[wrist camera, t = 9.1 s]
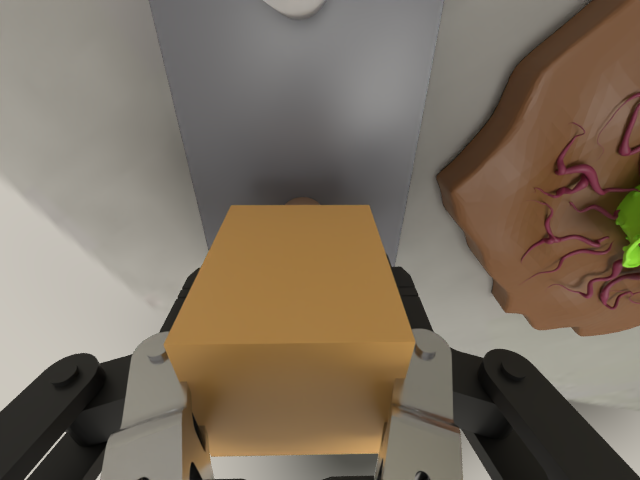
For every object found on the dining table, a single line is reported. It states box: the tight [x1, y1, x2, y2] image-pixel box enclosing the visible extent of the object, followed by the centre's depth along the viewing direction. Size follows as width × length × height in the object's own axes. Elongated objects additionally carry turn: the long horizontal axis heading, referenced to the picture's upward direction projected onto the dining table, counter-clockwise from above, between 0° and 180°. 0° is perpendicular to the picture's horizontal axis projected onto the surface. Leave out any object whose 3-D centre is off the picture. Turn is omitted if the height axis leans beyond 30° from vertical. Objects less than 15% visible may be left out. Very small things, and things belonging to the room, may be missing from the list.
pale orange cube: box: [163, 205, 416, 457], centre depth 10 cm, size 5×5×6 cm
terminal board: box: [149, 0, 444, 267], centre depth 12 cm, size 18×10×6 cm, turn 179°
